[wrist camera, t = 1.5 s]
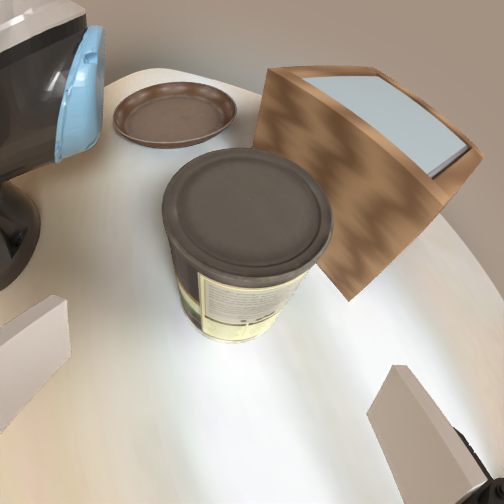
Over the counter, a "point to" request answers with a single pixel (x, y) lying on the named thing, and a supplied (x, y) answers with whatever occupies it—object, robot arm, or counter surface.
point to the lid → (396, 119)
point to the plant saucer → (174, 114)
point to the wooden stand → (355, 171)
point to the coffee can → (243, 238)
